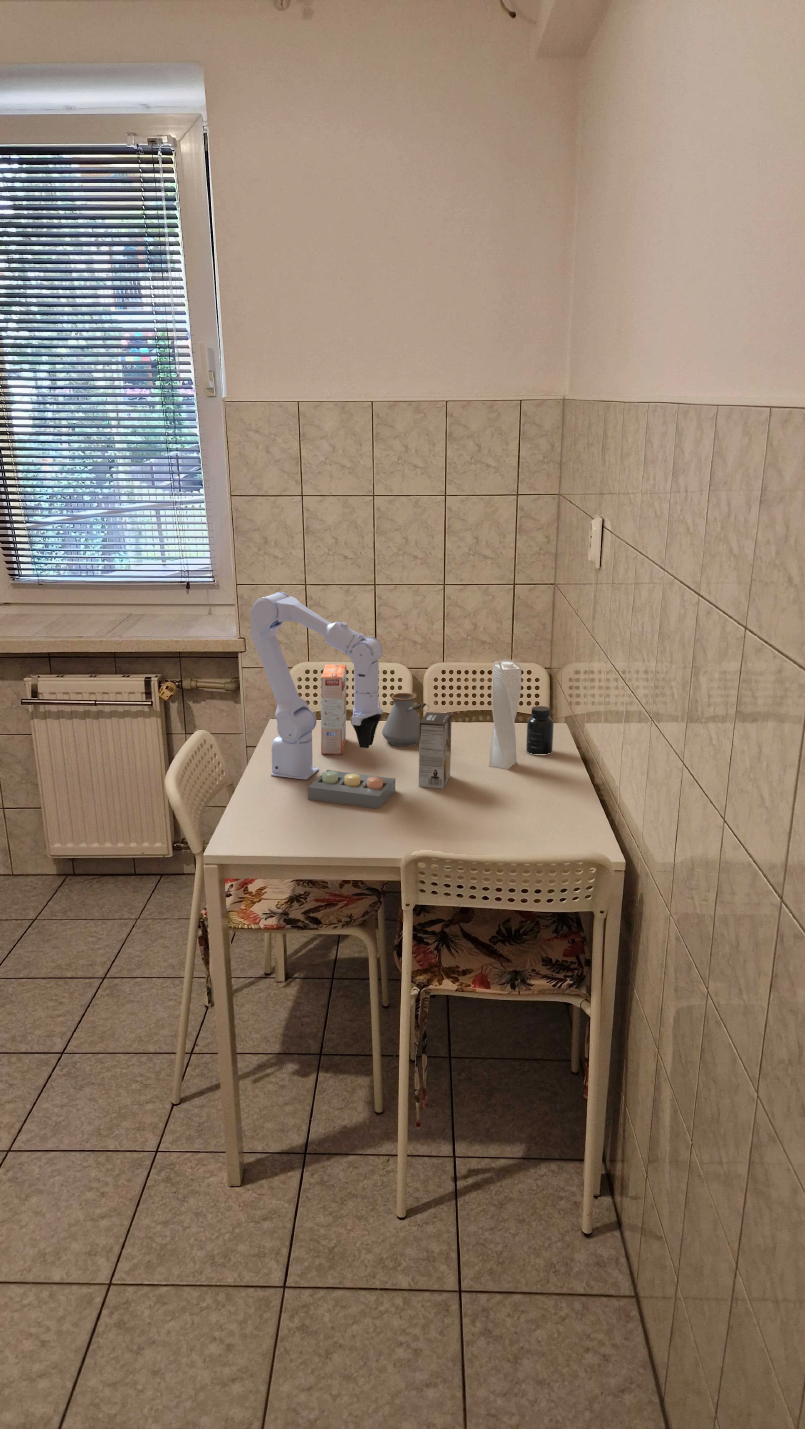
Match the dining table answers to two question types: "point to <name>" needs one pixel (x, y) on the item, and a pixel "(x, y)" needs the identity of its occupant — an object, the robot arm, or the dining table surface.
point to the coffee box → (434, 749)
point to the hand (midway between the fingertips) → (366, 746)
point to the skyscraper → (504, 712)
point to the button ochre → (352, 780)
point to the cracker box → (333, 709)
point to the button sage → (330, 777)
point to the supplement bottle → (540, 731)
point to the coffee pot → (403, 721)
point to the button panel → (351, 791)
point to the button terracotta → (375, 783)
